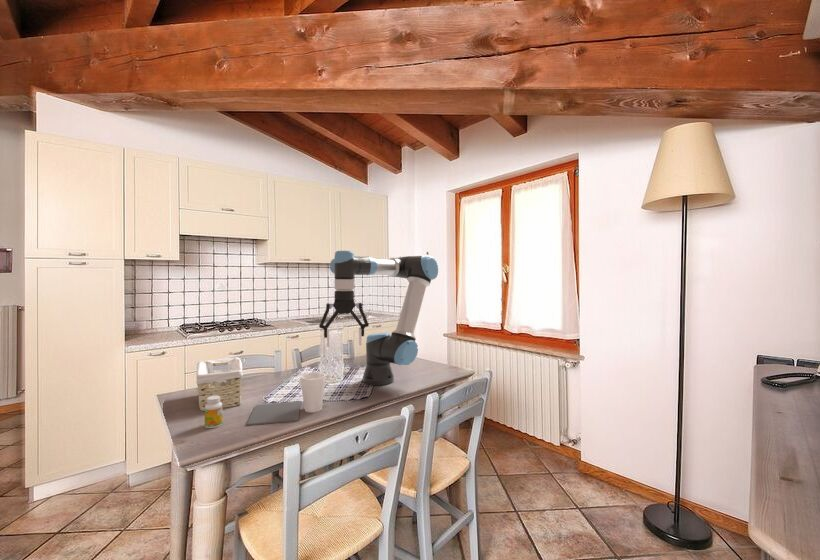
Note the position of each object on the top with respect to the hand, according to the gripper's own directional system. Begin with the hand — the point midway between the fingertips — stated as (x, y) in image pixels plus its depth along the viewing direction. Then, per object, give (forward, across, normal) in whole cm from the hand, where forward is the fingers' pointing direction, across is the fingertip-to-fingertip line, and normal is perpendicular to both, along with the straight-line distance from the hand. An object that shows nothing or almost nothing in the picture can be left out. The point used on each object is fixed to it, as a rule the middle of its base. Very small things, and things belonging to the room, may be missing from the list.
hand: (344, 345), depth 140 cm
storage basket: (+25, +50, -19) cm, 58 cm away
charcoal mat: (+24, +25, +1) cm, 35 cm away
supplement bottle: (+24, +45, +7) cm, 52 cm away
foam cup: (+24, +12, 0) cm, 27 cm away
